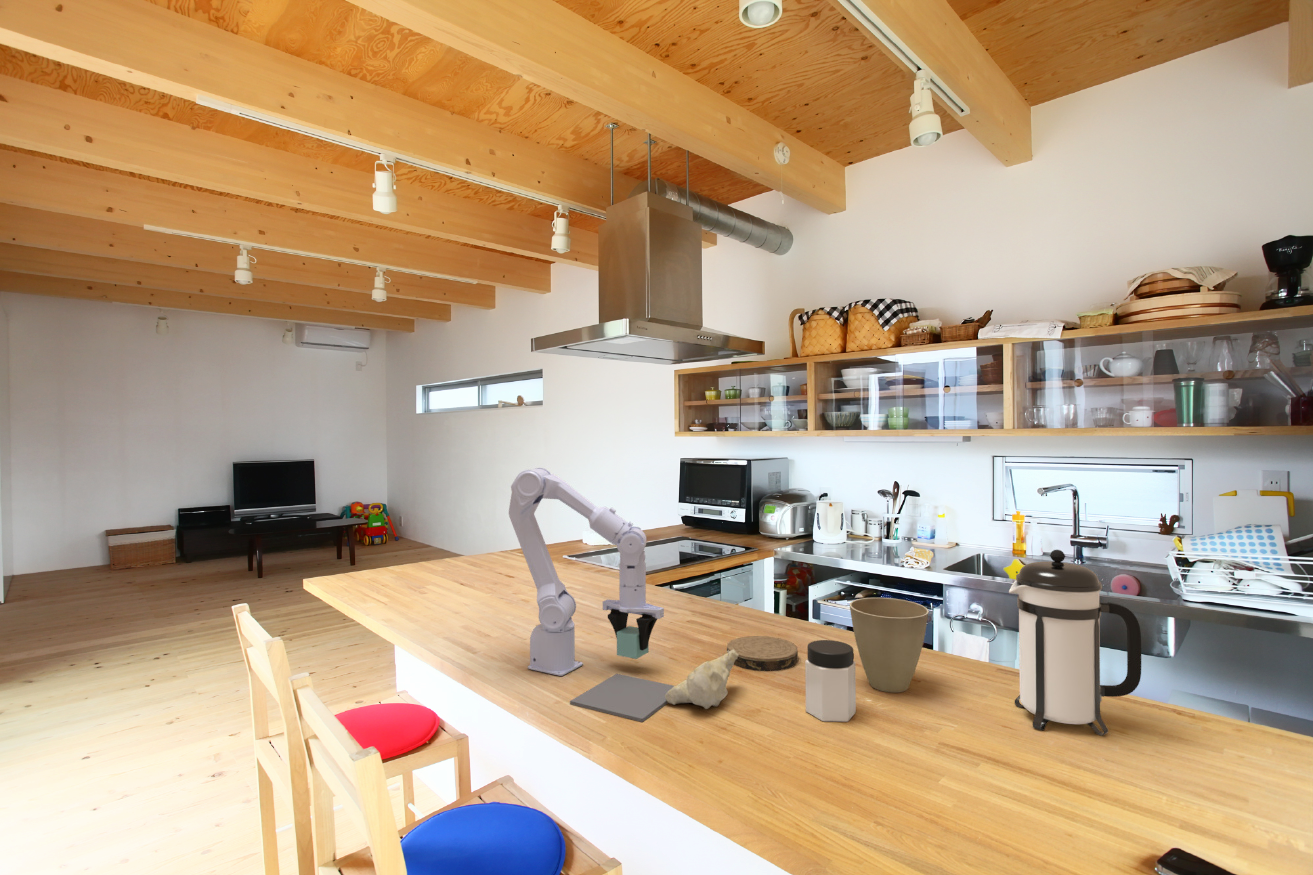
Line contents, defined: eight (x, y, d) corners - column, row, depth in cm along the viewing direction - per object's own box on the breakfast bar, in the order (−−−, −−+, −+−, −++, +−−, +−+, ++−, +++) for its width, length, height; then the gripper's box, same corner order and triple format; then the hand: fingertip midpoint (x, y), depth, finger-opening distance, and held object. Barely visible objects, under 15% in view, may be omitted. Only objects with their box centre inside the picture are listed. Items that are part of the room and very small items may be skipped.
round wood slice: (778, 678, 134) (778, 663, 134) (713, 662, 144) (713, 649, 144) (809, 657, 147) (809, 644, 147) (748, 644, 156) (748, 631, 156)
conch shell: (680, 733, 113) (746, 680, 113) (656, 696, 116) (720, 645, 116) (698, 724, 127) (757, 676, 127) (677, 691, 130) (734, 645, 130)
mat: (570, 704, 121) (570, 700, 121) (616, 676, 135) (616, 673, 135) (642, 722, 113) (642, 718, 113) (684, 690, 127) (684, 687, 127)
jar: (865, 717, 114) (865, 650, 114) (830, 726, 111) (829, 657, 111) (831, 699, 122) (831, 636, 122) (797, 707, 119) (796, 642, 119)
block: (616, 655, 138) (616, 631, 138) (629, 648, 142) (629, 625, 142) (636, 659, 135) (636, 635, 135) (648, 652, 140) (648, 629, 140)
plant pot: (837, 687, 128) (836, 607, 128) (869, 667, 139) (868, 594, 139) (911, 708, 118) (911, 621, 118) (940, 684, 129) (939, 605, 129)
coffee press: (1085, 750, 102) (1084, 561, 102) (992, 712, 116) (991, 547, 116) (1144, 726, 110) (1142, 552, 110) (1050, 694, 124) (1048, 539, 124)
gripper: (594, 584, 139) (594, 646, 139) (652, 592, 132) (652, 657, 132) (612, 577, 145) (612, 637, 145) (668, 585, 138) (668, 648, 138)
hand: (632, 646), depth 139 cm, fingers closed on block, 5 cm apart
